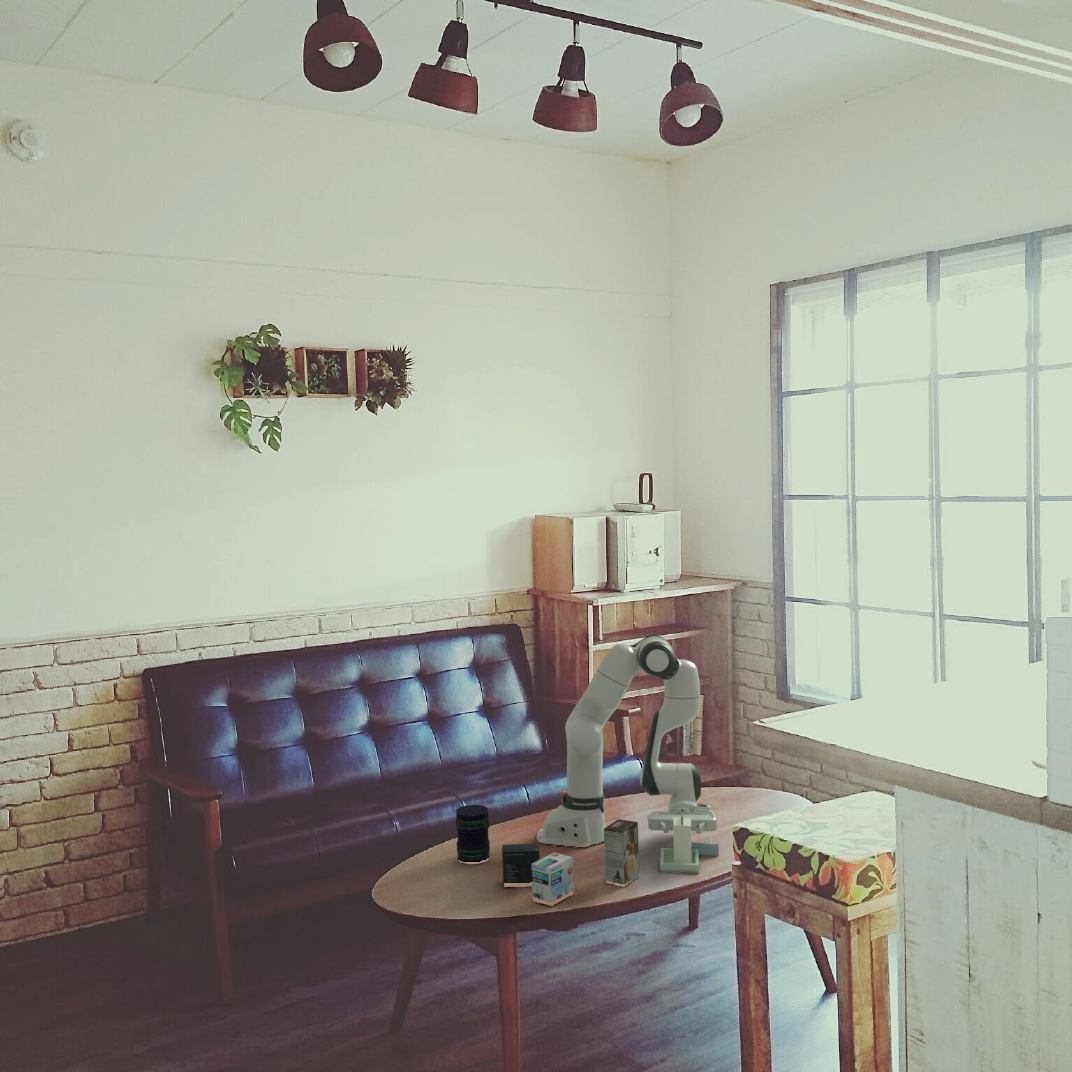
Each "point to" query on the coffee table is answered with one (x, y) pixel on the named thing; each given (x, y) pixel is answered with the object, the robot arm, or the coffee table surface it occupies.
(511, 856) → the box
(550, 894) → the light bulb box
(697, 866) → the tray
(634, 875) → the coffee box
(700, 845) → the dock
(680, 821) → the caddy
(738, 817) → the coffee table surface
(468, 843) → the storage jar
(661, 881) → the coffee table surface
